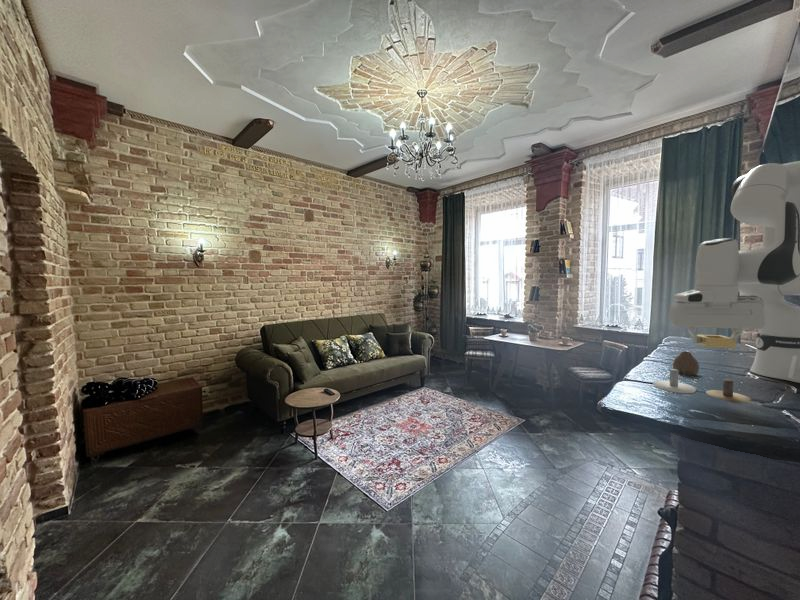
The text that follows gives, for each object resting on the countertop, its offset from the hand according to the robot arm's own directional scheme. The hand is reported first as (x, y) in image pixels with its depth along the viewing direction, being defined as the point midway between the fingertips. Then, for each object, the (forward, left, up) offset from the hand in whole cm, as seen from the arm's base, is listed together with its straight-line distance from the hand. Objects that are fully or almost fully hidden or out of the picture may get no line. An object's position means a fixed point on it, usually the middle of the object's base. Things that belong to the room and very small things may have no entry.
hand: (713, 343), depth 91 cm
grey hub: (+8, -3, -16) cm, 18 cm away
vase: (-2, -22, -17) cm, 28 cm away
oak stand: (-3, +1, -16) cm, 17 cm away
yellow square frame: (0, 0, -1) cm, 1 cm away
